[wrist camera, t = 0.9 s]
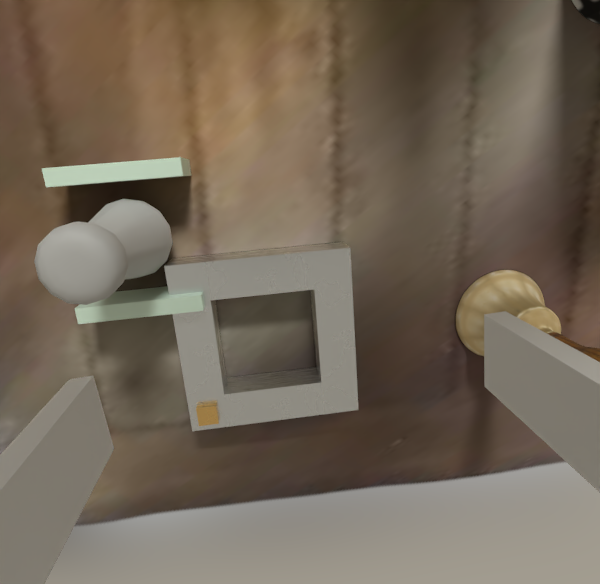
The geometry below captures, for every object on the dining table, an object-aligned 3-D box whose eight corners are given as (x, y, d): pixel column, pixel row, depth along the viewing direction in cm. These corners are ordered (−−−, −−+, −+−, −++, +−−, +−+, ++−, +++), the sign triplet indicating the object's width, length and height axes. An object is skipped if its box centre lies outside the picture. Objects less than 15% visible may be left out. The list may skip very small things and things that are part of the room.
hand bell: (452, 278, 37) (589, 349, 22) (542, 261, 38) (737, 320, 23) (457, 363, 40) (584, 482, 24) (542, 347, 40) (720, 453, 25)
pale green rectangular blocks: (67, 169, 32) (41, 168, 28) (189, 159, 33) (180, 157, 29) (97, 307, 35) (78, 324, 31) (208, 296, 36) (203, 310, 32)
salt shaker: (142, 284, 35) (80, 346, 22) (85, 234, 33) (-16, 269, 21) (193, 234, 34) (157, 269, 22) (137, 181, 33) (64, 184, 20)
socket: (171, 258, 34) (162, 267, 31) (342, 241, 35) (351, 248, 32) (197, 412, 38) (191, 434, 35) (350, 392, 39) (359, 413, 36)
